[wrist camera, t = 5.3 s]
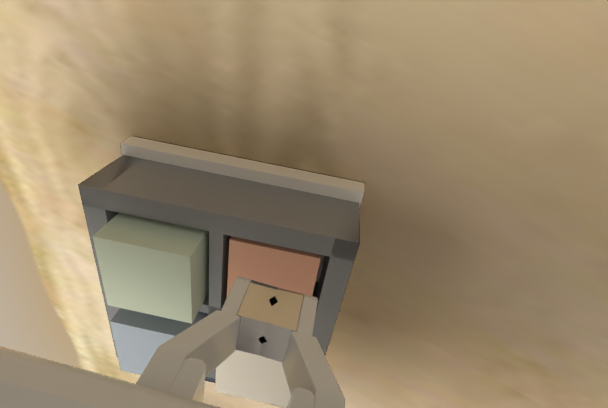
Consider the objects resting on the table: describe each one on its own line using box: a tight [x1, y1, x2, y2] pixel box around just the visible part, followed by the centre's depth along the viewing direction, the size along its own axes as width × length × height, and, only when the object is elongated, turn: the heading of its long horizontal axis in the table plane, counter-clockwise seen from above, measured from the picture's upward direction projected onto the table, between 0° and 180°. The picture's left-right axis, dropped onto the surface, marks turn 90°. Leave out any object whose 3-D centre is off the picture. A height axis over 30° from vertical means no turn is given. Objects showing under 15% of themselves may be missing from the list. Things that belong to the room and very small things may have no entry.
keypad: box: [78, 136, 364, 383], centre depth 20 cm, size 18×12×4 cm, turn 171°
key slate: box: [110, 308, 208, 375], centre depth 18 cm, size 4×4×2 cm
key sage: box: [92, 213, 209, 324], centre depth 15 cm, size 4×4×2 cm
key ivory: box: [215, 350, 291, 408], centre depth 18 cm, size 4×4×2 cm
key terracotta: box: [227, 236, 321, 297], centre depth 16 cm, size 4×4×2 cm
